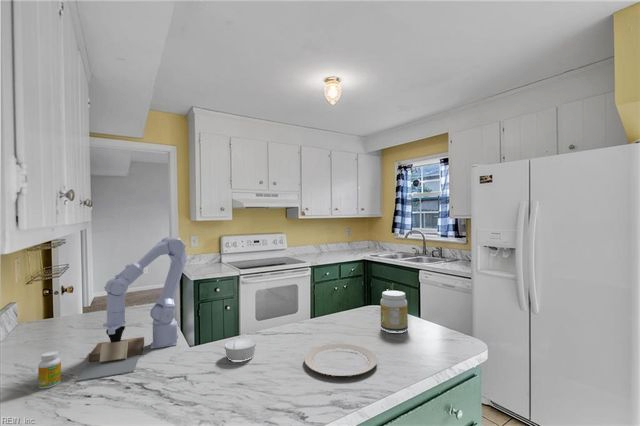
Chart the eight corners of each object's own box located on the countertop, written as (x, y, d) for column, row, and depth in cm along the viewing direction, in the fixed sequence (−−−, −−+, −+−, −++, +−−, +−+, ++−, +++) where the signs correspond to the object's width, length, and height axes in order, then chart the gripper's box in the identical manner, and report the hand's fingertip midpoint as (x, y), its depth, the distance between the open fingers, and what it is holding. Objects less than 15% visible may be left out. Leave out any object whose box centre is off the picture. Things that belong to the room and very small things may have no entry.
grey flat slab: (139, 355, 119) (139, 354, 119) (133, 372, 106) (133, 371, 106) (88, 363, 113) (88, 362, 113) (75, 381, 100) (75, 380, 100)
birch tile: (128, 341, 119) (127, 340, 117) (126, 358, 116) (125, 357, 114) (102, 344, 116) (101, 343, 114) (100, 362, 113) (99, 361, 111)
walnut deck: (144, 344, 130) (144, 336, 130) (139, 355, 119) (139, 347, 119) (98, 350, 124) (98, 343, 124) (89, 363, 113) (89, 354, 113)
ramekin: (218, 358, 116) (218, 343, 117) (244, 348, 125) (244, 335, 125) (235, 367, 109) (235, 352, 109) (261, 357, 117) (261, 342, 117)
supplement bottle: (47, 390, 95) (47, 357, 96) (33, 388, 96) (33, 356, 97) (65, 381, 101) (65, 350, 101) (51, 379, 102) (51, 349, 102)
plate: (338, 343, 129) (337, 338, 129) (391, 363, 111) (391, 357, 111) (289, 363, 111) (289, 358, 111) (343, 391, 93) (343, 384, 93)
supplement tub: (380, 325, 151) (379, 289, 151) (406, 326, 149) (405, 290, 149) (381, 334, 138) (380, 295, 139) (409, 335, 137) (409, 296, 137)
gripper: (108, 307, 123) (107, 342, 123) (97, 317, 110) (97, 357, 109) (129, 305, 126) (128, 339, 125) (121, 315, 112) (121, 353, 112)
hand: (115, 347), depth 117 cm, fingers closed
